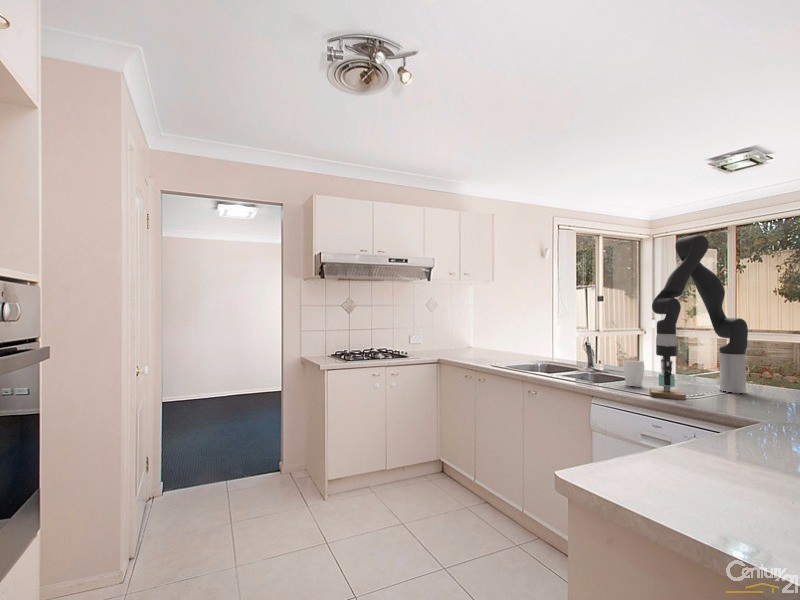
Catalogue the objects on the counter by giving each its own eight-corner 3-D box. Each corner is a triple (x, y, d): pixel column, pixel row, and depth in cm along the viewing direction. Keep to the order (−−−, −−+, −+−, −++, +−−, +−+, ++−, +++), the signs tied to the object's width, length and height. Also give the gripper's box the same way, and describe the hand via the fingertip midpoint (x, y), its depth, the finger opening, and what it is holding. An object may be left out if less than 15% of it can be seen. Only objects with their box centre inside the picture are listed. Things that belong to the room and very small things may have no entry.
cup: (648, 387, 197) (648, 362, 197) (629, 387, 197) (629, 362, 197) (637, 384, 206) (637, 360, 206) (619, 384, 206) (619, 359, 206)
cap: (658, 384, 181) (658, 372, 181) (673, 385, 179) (673, 373, 179) (659, 386, 176) (659, 374, 176) (675, 387, 174) (675, 375, 174)
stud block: (649, 392, 185) (649, 379, 186) (682, 394, 180) (682, 382, 180) (651, 397, 175) (651, 383, 175) (685, 400, 169) (685, 386, 169)
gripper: (655, 343, 186) (655, 381, 185) (657, 345, 173) (657, 385, 173) (675, 343, 182) (675, 382, 182) (678, 346, 170) (679, 387, 169)
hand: (666, 384), depth 177 cm, fingers closed on cap, 5 cm apart
